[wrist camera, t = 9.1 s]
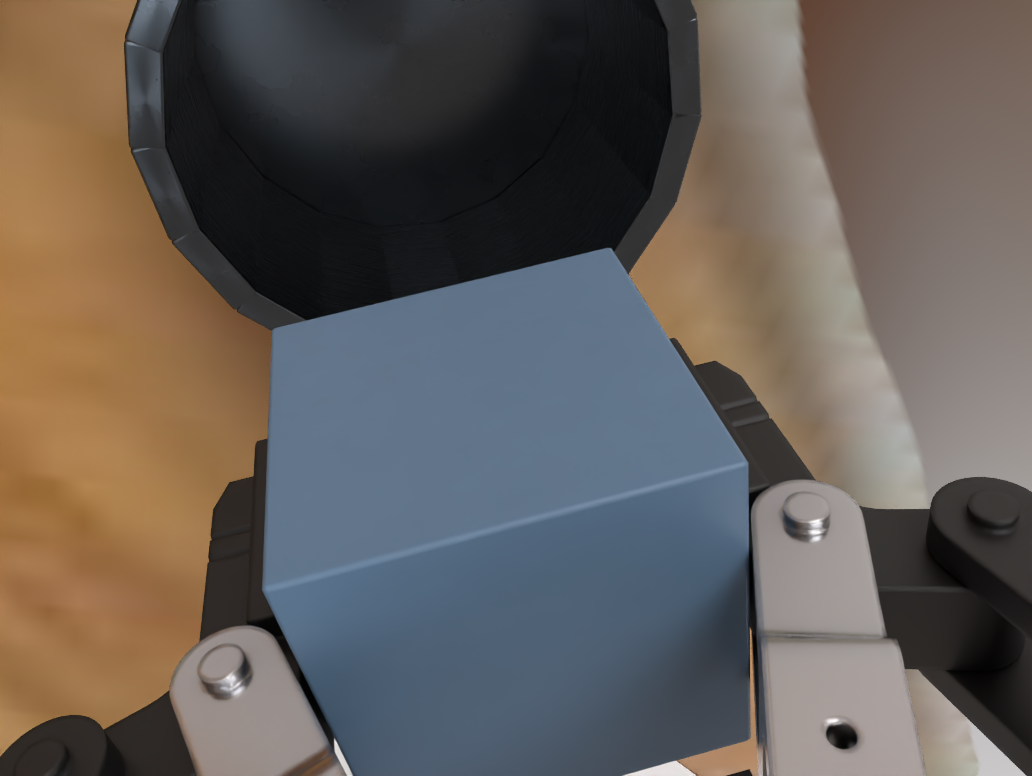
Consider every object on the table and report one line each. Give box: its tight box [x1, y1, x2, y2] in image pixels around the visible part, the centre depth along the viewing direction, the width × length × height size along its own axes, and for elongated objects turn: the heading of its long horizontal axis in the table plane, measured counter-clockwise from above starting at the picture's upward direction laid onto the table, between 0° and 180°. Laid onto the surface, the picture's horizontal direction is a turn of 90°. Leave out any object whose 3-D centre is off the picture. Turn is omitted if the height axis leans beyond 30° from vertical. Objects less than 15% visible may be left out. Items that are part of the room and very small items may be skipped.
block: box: [262, 248, 750, 776], centre depth 12 cm, size 5×5×5 cm
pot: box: [124, 0, 701, 331], centre depth 25 cm, size 14×14×8 cm
